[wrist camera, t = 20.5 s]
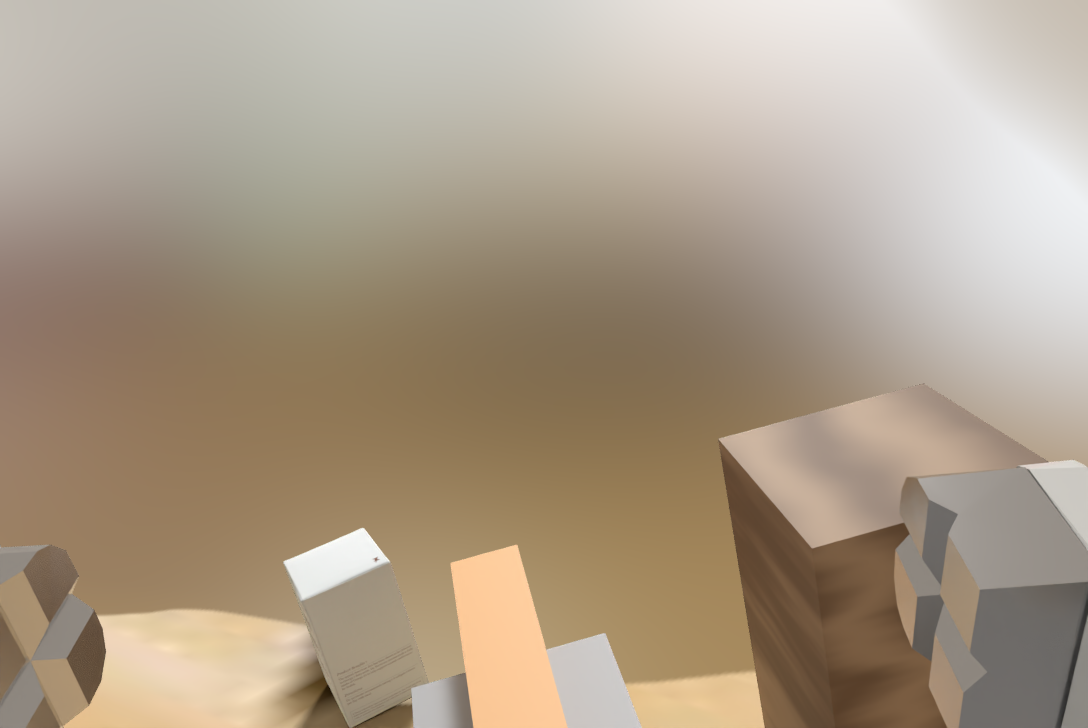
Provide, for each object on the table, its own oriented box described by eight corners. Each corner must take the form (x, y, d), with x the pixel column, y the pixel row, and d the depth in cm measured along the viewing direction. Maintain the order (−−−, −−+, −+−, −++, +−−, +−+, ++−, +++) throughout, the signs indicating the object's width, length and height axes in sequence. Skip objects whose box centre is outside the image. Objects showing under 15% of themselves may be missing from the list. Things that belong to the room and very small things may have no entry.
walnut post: (866, 971, 50) (812, 548, 41) (776, 800, 61) (718, 438, 52) (1078, 903, 51) (1070, 475, 42) (951, 747, 62) (923, 383, 53)
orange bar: (524, 996, 34) (500, 916, 33) (466, 619, 57) (450, 562, 56) (630, 962, 35) (610, 882, 33) (531, 601, 57) (517, 544, 56)
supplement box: (404, 646, 85) (366, 524, 80) (432, 690, 78) (392, 560, 74) (325, 683, 82) (280, 559, 78) (346, 732, 76) (299, 600, 71)
